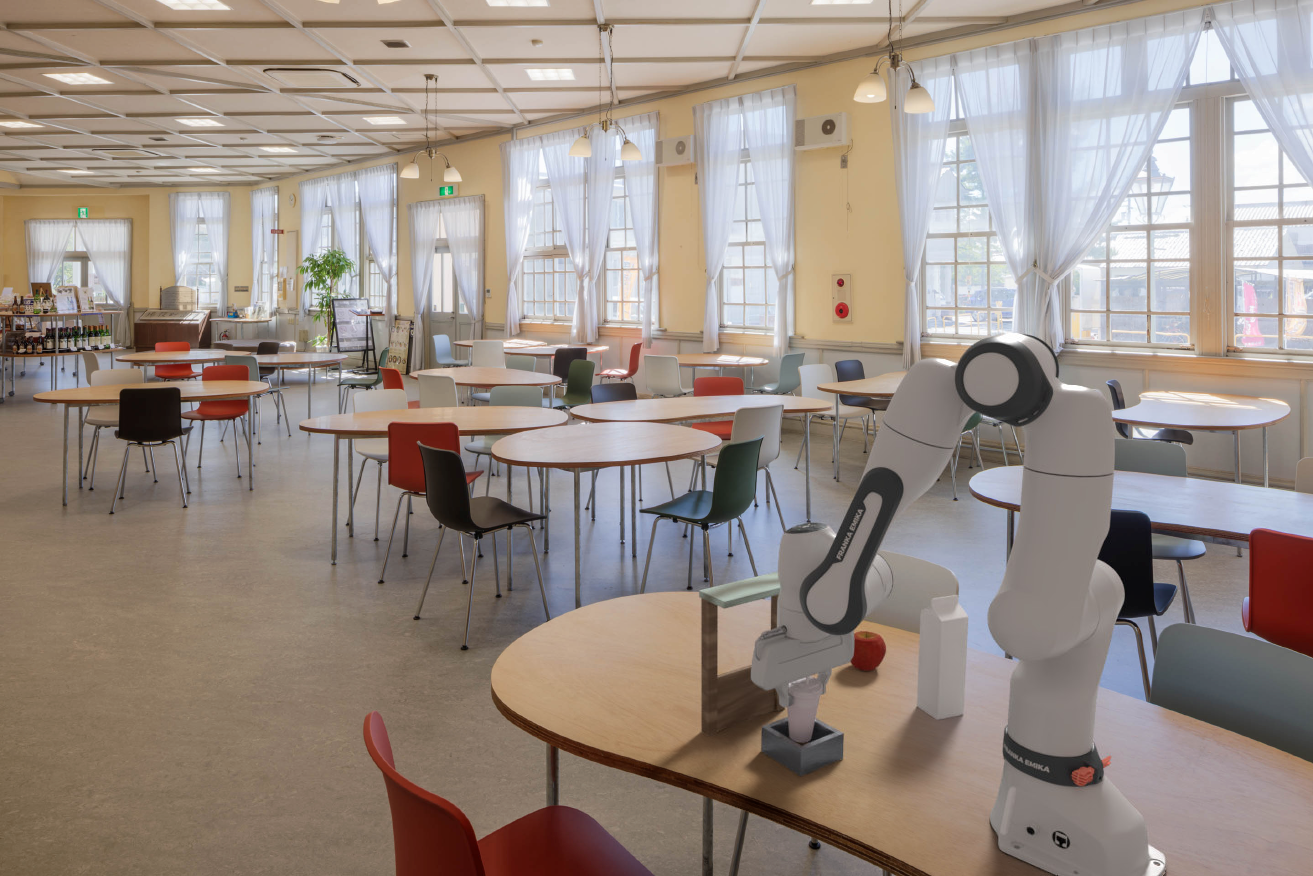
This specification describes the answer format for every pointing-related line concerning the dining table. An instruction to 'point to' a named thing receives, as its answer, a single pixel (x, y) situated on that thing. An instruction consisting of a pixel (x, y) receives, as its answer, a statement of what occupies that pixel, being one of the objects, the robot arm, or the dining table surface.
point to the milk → (942, 658)
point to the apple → (868, 650)
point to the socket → (806, 757)
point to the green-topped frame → (735, 691)
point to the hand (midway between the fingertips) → (802, 699)
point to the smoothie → (803, 707)
